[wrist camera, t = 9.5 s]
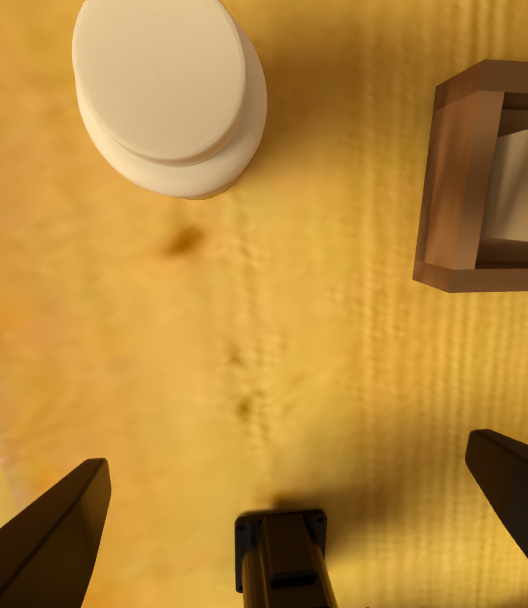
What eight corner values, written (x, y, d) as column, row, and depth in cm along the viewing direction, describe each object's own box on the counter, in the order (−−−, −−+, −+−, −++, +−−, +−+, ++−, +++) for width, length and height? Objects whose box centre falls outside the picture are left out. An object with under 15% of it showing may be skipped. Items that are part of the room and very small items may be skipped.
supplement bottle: (128, 83, 17) (-1, -96, 7) (244, 81, 17) (277, -85, 7) (145, 204, 18) (59, 199, 8) (251, 198, 19) (286, 188, 9)
